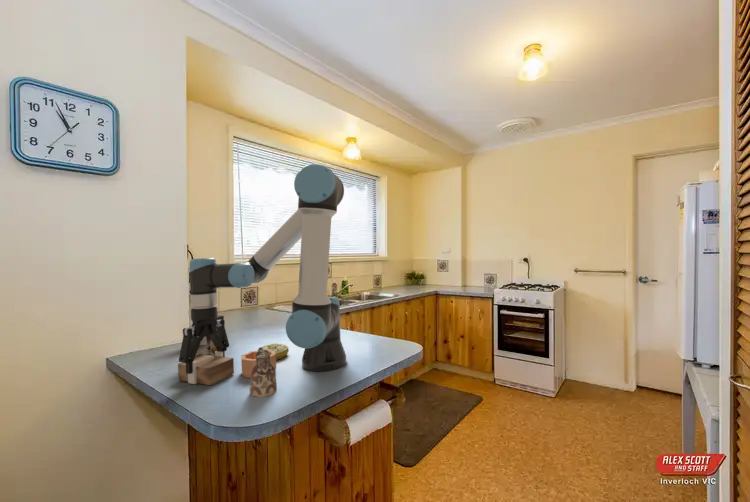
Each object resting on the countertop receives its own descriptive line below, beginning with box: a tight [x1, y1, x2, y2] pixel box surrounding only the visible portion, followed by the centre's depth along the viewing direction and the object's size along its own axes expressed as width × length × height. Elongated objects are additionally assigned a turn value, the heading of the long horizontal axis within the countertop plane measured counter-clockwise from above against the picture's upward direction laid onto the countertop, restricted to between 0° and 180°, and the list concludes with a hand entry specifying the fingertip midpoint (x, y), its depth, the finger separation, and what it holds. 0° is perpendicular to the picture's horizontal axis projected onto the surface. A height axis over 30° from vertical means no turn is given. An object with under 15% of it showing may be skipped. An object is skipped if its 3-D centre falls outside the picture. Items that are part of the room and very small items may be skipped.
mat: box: [210, 374, 234, 386], centre depth 106 cm, size 14×8×1 cm, turn 68°
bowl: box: [240, 350, 277, 379], centre depth 109 cm, size 10×10×6 cm
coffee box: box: [193, 315, 226, 358], centre depth 121 cm, size 9×6×16 cm
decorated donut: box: [256, 342, 290, 361], centre depth 124 cm, size 11×12×4 cm
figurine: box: [249, 346, 278, 398], centre depth 93 cm, size 7×7×12 cm
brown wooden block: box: [177, 355, 235, 386], centre depth 105 cm, size 13×10×5 cm
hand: (206, 376), depth 106 cm, fingers closed on brown wooden block, 9 cm apart
